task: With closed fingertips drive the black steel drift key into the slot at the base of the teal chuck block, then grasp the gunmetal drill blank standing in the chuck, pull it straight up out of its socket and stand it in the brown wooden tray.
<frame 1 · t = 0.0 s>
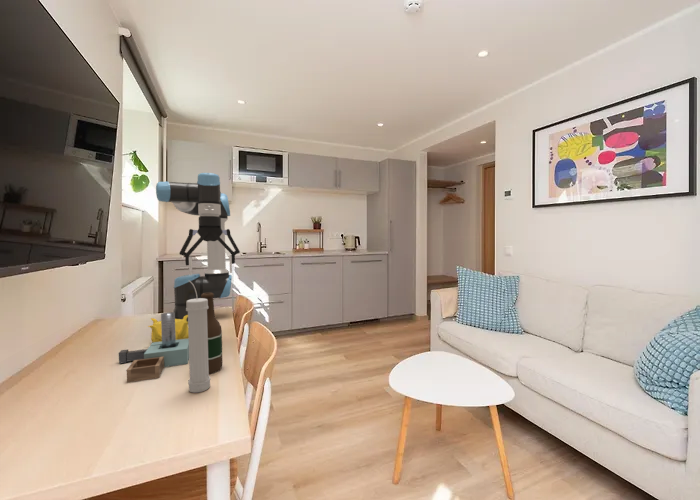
hand: (211, 273, 117), 28 cm above the table, fingers open, 13 cm apart
brown wooden tray: (146, 374, 95), on the table
drift key: (137, 354, 106), point 2 cm above the table, slide at 0.0 cm
beer bottle: (209, 370, 98), on the table
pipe: (198, 389, 85), on the table
drill blank: (168, 336, 106), in the chuck block
chuck block: (169, 360, 106), on the table
teapot: (170, 341, 127), on the table
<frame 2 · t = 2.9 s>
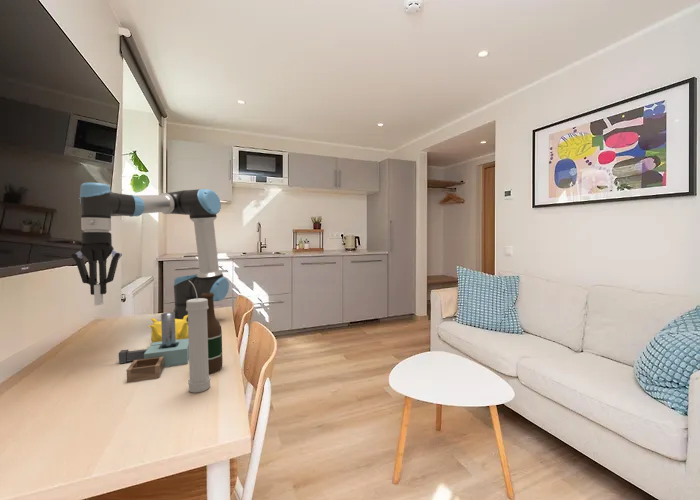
hand: (99, 304, 102), 20 cm above the table, fingers closed
nothing on the table moved.
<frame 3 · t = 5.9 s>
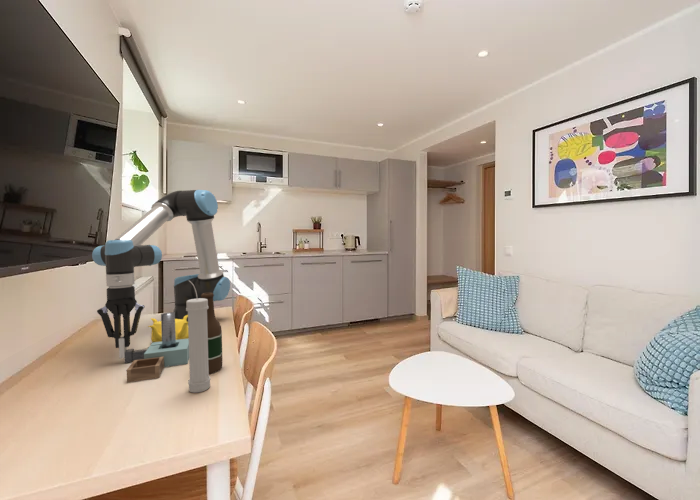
hand: (123, 356, 105), 2 cm above the table, fingers closed
drift key: (143, 353, 107), point 2 cm above the table, slide at 1.6 cm, touching gripper
everything else where it was.
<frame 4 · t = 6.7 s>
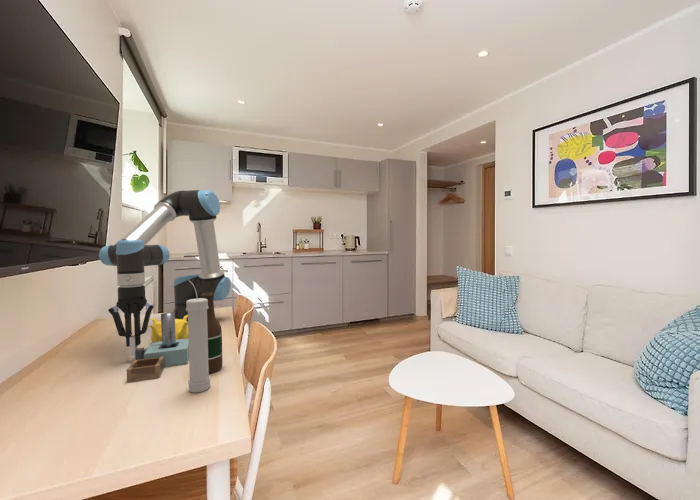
hand: (133, 355, 106), 2 cm above the table, fingers closed
drift key: (153, 352, 108), point 2 cm above the table, slide at 4.6 cm, touching gripper
everything else where it was.
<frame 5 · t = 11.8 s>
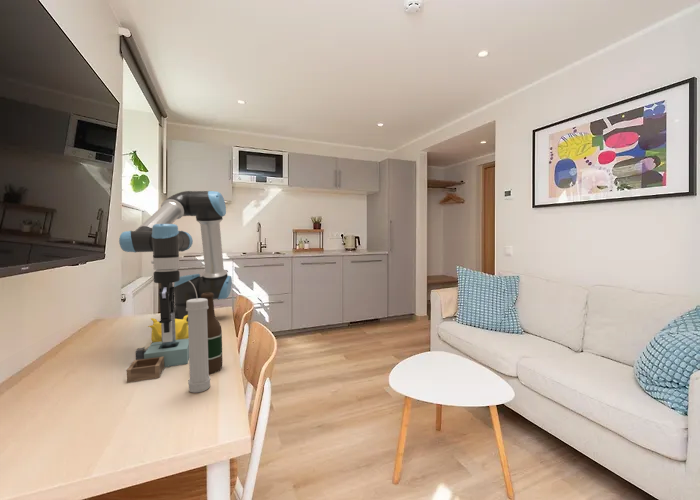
hand: (168, 339, 106), 7 cm above the table, fingers closed on drill blank, 4 cm apart
drift key: (153, 352, 108), point 2 cm above the table, slide at 4.7 cm
drill blank: (168, 336, 106), in the chuck block, touching gripper
everything else where it was.
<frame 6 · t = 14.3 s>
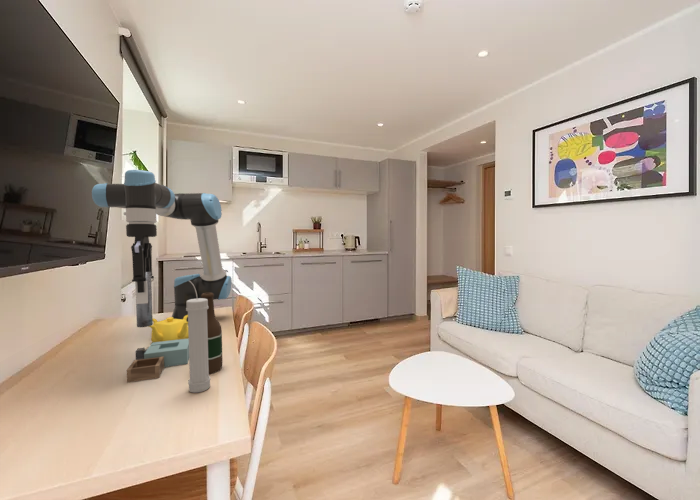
hand: (144, 301, 94), 22 cm above the table, fingers closed on drill blank, 4 cm apart
drill blank: (144, 299, 94), point 23 cm above the table, touching gripper
everything else where it was.
when the fingers open (8 cm above the table, at t = 17.0 s): drill blank stays where it is, resting on brown wooden tray.
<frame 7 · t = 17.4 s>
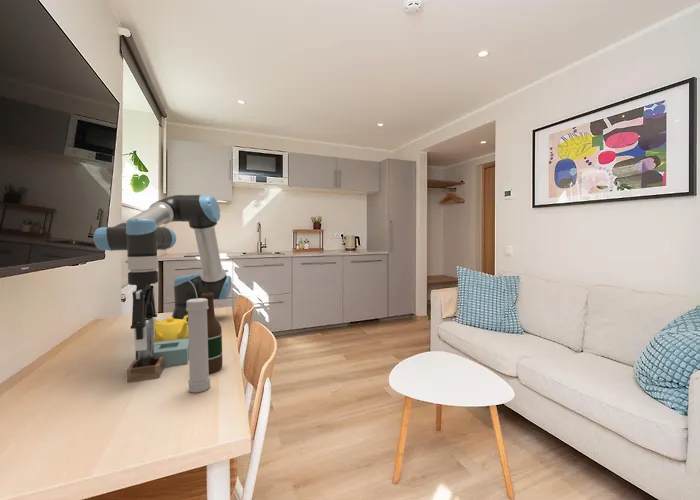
hand: (145, 344, 95), 9 cm above the table, fingers open, 10 cm apart
drill blank: (145, 346, 95), in the brown wooden tray, point 9 cm above the table
everything else where it was.
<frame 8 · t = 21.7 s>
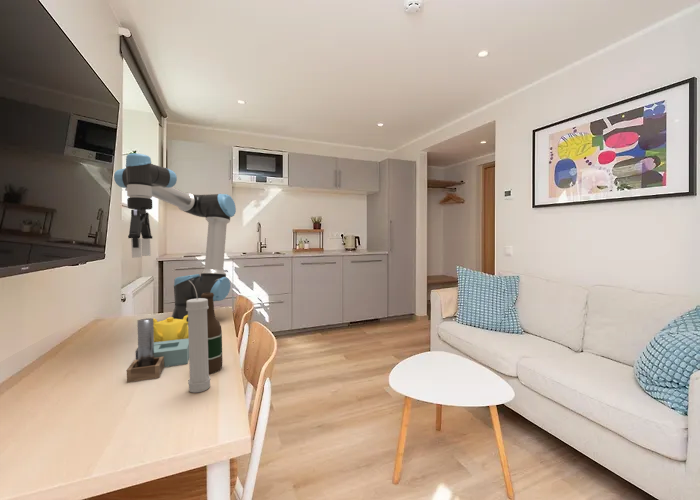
hand: (141, 256, 115), 35 cm above the table, fingers open, 13 cm apart
nothing on the table moved.
at the end: drift key slide at 4.7 cm; drill blank 0.1 cm off-centre on the brown wooden tray, point 8.6 cm above the brown wooden tray's base; drill blank tilted 1° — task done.
